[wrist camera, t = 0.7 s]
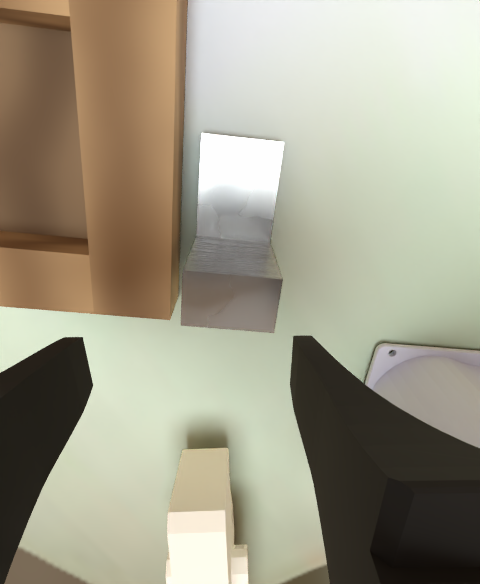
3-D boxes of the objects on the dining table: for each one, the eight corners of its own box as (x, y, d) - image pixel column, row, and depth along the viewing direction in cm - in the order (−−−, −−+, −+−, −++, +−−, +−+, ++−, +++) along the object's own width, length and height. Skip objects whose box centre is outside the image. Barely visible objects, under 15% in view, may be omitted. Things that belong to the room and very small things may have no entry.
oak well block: (188, -44, 15) (178, -85, 12) (178, 296, 21) (170, 319, 19) (-160, -92, 14) (-256, -148, 11) (-60, 275, 20) (-105, 297, 18)
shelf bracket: (198, 614, 37) (179, 814, 25) (181, 401, 31) (145, 521, 19) (250, 612, 37) (256, 812, 25) (242, 399, 31) (245, 517, 19)
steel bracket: (281, 141, 18) (304, 144, 12) (262, 276, 21) (274, 332, 15) (203, 132, 18) (187, 131, 12) (196, 270, 21) (180, 325, 15)
